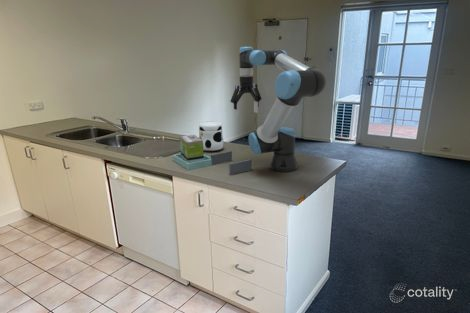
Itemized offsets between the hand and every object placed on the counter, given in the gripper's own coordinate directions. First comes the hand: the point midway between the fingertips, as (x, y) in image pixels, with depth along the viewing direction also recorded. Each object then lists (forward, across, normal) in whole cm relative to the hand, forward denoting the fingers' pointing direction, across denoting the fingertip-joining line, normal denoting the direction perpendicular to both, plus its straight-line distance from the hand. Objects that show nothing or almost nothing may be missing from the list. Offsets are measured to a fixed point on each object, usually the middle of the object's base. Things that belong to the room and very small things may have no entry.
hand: (246, 113), depth 186 cm
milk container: (+29, +5, -34) cm, 45 cm away
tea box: (+28, +28, -16) cm, 43 cm away
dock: (+29, +14, +4) cm, 32 cm away
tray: (+29, +28, -16) cm, 43 cm away
